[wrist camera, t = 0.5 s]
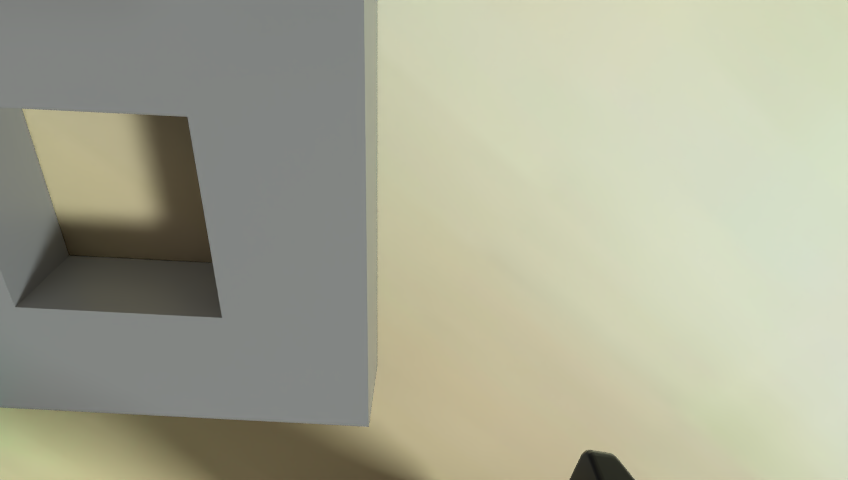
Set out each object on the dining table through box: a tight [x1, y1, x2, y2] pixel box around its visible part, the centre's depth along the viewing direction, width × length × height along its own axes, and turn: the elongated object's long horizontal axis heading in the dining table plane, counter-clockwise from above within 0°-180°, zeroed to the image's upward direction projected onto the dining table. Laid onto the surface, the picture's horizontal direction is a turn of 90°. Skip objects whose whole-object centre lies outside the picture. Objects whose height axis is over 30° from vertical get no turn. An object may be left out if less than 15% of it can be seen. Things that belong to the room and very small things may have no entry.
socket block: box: [0, 0, 377, 427], centre depth 21 cm, size 18×18×4 cm
